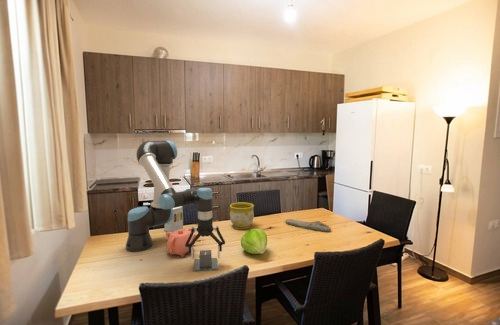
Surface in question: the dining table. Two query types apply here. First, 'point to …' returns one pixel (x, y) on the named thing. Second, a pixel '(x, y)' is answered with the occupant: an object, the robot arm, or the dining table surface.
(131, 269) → the dining table surface
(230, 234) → the dining table surface
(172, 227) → the supplement box
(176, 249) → the teapot
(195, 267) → the shaft post
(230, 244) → the dining table surface
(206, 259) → the gray cube
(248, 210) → the flowerpot
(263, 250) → the lettuce
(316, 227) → the elongated rock
